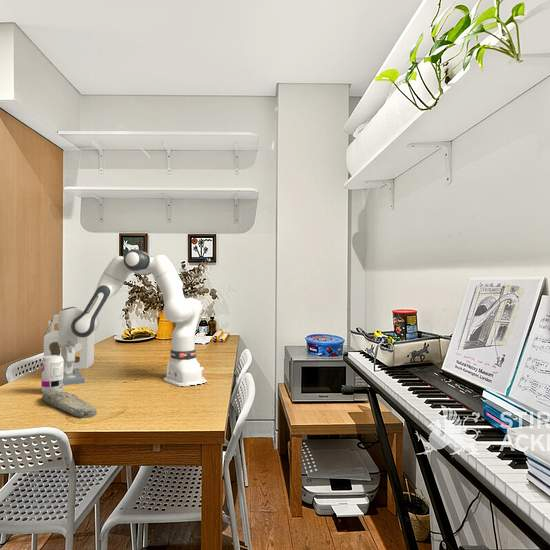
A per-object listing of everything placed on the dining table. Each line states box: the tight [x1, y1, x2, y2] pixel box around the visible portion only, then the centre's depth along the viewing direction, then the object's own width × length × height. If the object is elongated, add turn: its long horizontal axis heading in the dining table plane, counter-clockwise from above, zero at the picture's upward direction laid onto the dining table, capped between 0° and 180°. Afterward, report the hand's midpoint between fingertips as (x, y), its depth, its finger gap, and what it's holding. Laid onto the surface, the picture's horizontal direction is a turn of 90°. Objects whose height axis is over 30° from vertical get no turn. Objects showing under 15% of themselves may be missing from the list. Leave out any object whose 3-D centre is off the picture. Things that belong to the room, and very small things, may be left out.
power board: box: [63, 369, 85, 386], centre depth 203 cm, size 22×10×2 cm, turn 33°
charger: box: [63, 361, 73, 374], centre depth 207 cm, size 4×4×8 cm
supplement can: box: [41, 354, 64, 394], centre depth 181 cm, size 8×8×15 cm
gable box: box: [43, 314, 95, 370], centre depth 229 cm, size 22×13×28 cm, turn 99°
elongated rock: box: [41, 391, 97, 419], centre depth 162 cm, size 35×5×10 cm
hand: (67, 368), depth 207 cm, fingers open, 8 cm apart
